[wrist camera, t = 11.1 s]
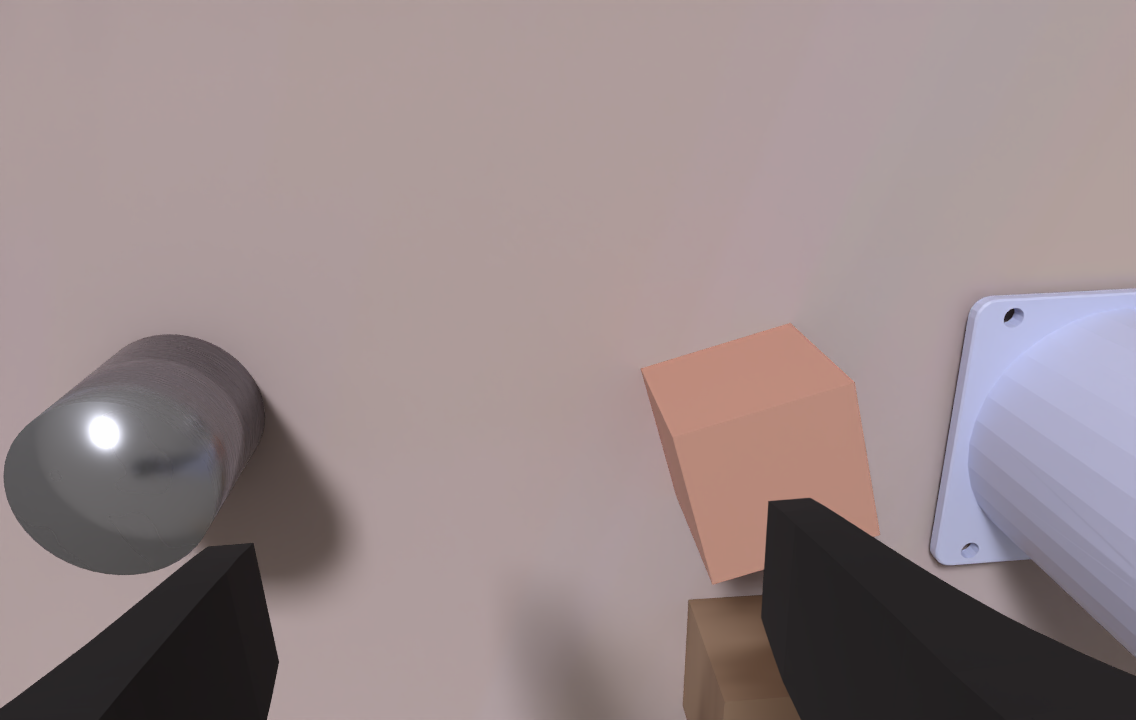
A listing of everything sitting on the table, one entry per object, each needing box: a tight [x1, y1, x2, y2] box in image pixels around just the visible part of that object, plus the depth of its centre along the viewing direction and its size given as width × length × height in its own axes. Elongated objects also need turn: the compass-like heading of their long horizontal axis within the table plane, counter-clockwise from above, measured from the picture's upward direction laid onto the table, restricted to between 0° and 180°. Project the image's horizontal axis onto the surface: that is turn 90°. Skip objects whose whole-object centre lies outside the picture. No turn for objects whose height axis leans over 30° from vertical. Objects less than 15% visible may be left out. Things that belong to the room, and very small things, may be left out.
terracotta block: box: [641, 323, 880, 584], centre depth 19 cm, size 4×4×4 cm
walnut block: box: [683, 595, 801, 720], centre depth 22 cm, size 4×4×4 cm
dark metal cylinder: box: [4, 335, 265, 575], centre depth 18 cm, size 4×4×4 cm
